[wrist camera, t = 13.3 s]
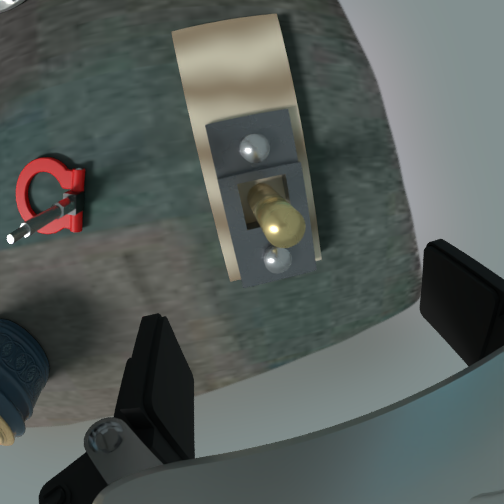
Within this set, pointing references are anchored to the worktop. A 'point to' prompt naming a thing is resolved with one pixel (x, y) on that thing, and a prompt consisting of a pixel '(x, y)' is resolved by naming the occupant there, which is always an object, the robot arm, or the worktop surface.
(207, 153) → the jig board
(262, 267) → the riveted slotted plate
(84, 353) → the worktop surface
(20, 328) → the canister
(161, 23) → the worktop surface
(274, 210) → the pin
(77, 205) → the tow hook
